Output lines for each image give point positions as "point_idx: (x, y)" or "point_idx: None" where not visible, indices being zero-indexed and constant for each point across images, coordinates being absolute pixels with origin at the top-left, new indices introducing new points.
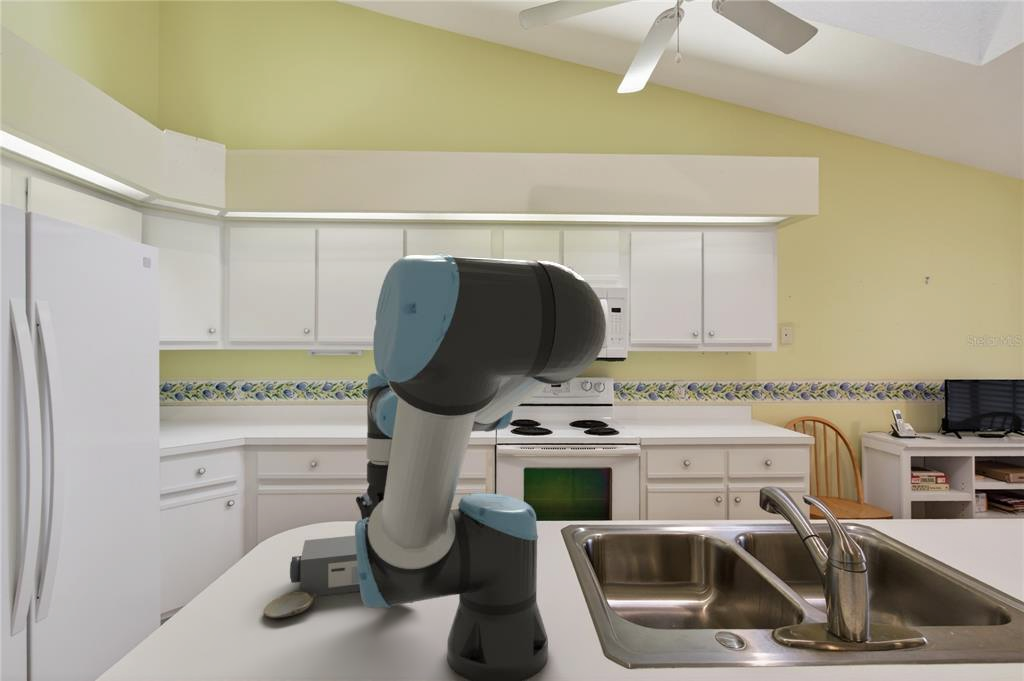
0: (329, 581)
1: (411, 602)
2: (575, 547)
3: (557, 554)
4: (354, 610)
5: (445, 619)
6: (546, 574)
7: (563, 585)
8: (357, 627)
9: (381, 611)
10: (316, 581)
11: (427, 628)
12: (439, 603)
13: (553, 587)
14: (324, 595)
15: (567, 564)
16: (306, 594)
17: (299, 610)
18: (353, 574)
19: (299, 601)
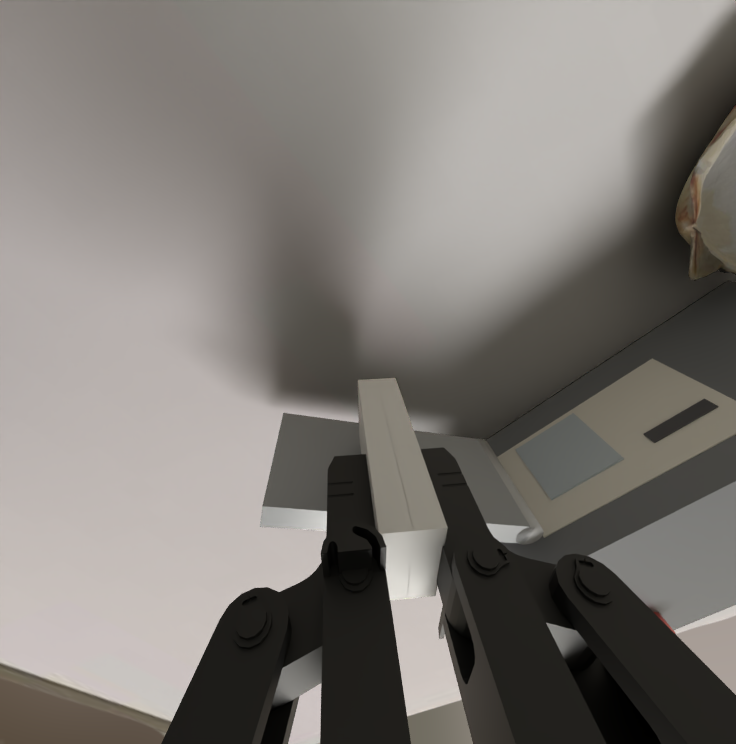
0: (670, 373)
1: (283, 416)
2: (158, 728)
3: (167, 705)
4: (476, 304)
5: (123, 401)
6: (108, 657)
7: (22, 645)
8: (384, 194)
9: (374, 343)
10: (732, 342)
11: (121, 323)
12: (230, 464)
13: (32, 632)
14: (641, 338)
15: (108, 693)
16: (732, 263)
17: (715, 139)
18: (590, 440)
19: (733, 237)
